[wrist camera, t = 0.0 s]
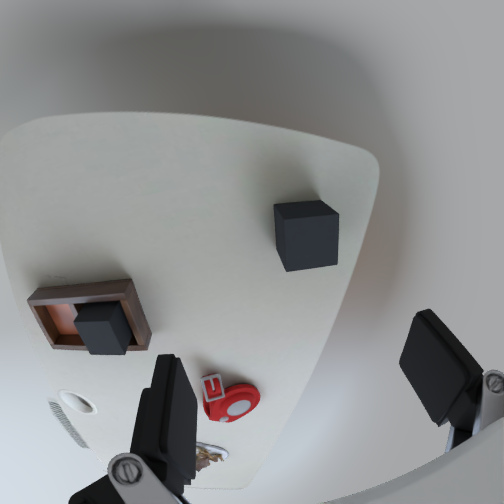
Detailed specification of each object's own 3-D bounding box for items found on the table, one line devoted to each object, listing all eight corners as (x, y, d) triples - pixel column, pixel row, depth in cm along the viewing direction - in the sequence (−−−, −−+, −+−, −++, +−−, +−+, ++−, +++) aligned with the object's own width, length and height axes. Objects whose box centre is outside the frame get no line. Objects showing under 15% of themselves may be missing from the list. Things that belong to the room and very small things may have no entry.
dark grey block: (273, 204, 27) (283, 219, 23) (320, 199, 27) (339, 213, 23) (276, 249, 29) (286, 272, 25) (321, 244, 29) (337, 264, 25)
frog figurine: (214, 464, 52) (215, 476, 49) (170, 453, 49) (169, 467, 45) (238, 450, 49) (239, 464, 45) (188, 439, 45) (188, 454, 42)
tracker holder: (275, 394, 38) (239, 431, 39) (262, 376, 42) (229, 413, 42) (211, 381, 32) (176, 424, 32) (201, 359, 35) (169, 402, 36)
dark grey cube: (88, 297, 29) (72, 322, 24) (122, 294, 29) (108, 320, 25) (102, 329, 31) (90, 354, 26) (135, 327, 31) (125, 355, 27)
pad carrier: (37, 288, 28) (26, 300, 26) (132, 278, 29) (123, 292, 26) (60, 335, 32) (52, 349, 29) (152, 334, 33) (147, 350, 30)
